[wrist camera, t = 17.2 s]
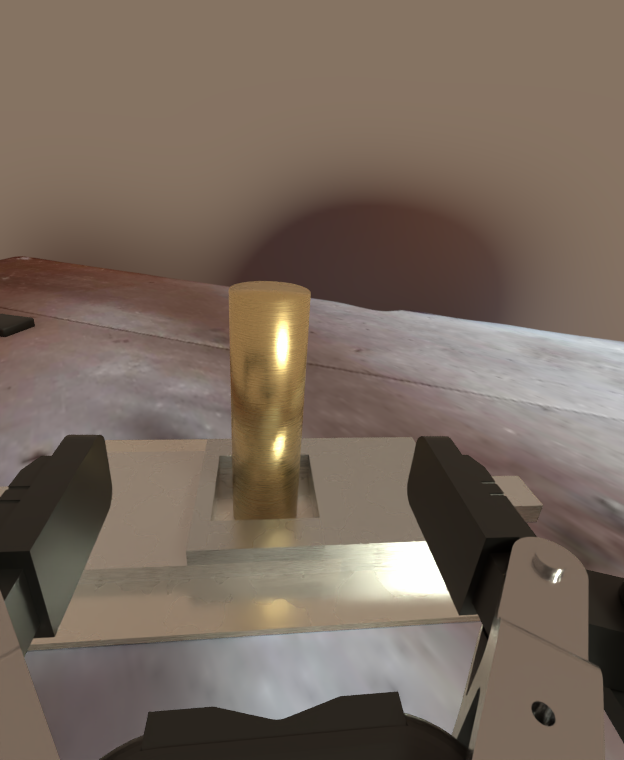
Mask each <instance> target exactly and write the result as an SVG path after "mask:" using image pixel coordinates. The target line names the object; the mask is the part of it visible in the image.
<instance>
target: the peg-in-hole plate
mask: <svg viewBox="0 0 624 760" xmlns="http://www.w3.org/2000/svg"><path fill="white" fill-rule="evenodd" d="M105 444H106V450H107V456H108V462H109V468H110V475H111V481H112V500H111V506H110V509H109V512H108V514H107V517H106V519H105V521H104V524H103V526H102V528H101V531H100V533H99V535H98V538H97V540H96V542H95V545H94V547H93V549H92V552H91V554H90V556H89V559H88V561H87V563H86V566H85V568H84V570H83V573H82V575H81V577H80V580H79V582H78V584H77V587H76V589H75V591H74V594H73V596H72V598H71V601H70V603H69V605H68V608H67V610H66V612H65V615H64V617H63V619H62V622H61V624H60V626H59V629H58V631H57V633H56V636H55V637H50V638H33V640H32V642H31V644H30V646H29V648H28V650H27V651H31V650H46V649H61V648H76V647H91V646H106V645H121V644H137V643H152V642H167V641H182V640H197V639H212V638H227V637H243V636H258V635H273V634H288V633H303V632H318V631H333V630H349V629H364V628H379V627H394V626H409V625H424V624H439V623H455V622H470V621H481V620H480V618H479V616H478V615H462V616H459V614H458V612H457V610H456V608H455V606H454V603H453V601H452V599H451V597H450V594H449V592H448V590H447V588H446V585H445V583H444V581H443V579H442V576H441V574H440V572H439V570H438V568H437V565H436V563H435V561H434V559H433V556H432V554H431V552H430V550H429V547H428V545H427V543H426V541H425V538H424V536H423V534H422V532H421V530H420V527H419V525H418V523H417V521H416V518H415V516H414V514H413V512H412V509H411V507H410V505H409V501H408V496H407V483H408V478H409V473H410V469H411V464H412V460H413V455H414V451H415V446H416V443H415V442H414V440H413V438H412V437H395V438H302V439H301V455H300V471H299V487H298V503H297V514H296V518H292V519H261V520H235V519H234V515H233V478H232V439H190V440H105ZM492 478H493V479H494V480H495V484H498V486H499V487H500V488H501V490H502V491H503V492H504V496H507V498H508V499H509V500H510V502H511V503H512V504H513V506H514V507H515V508H516V510H517V511H518V512H519V514H520V515H521V516H522V518H523V519H524V520H525V522H537V520H538V518H539V515H540V512H541V510H542V507H543V505H542V503H541V502H540V501H539V500H538V499H537V498H536V496H535V495H534V494H533V493H532V492H531V491H530V489H529V488H528V487H527V486H526V485H525V483H524V482H523V481H522V480H521V479H520V478H519V476H492ZM8 488H9V487H0V497H1V495H2V494H3V493H4V491H5V490H8Z"/></svg>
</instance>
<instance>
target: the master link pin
mask: <svg viewBox="0 0 624 760" xmlns="http://www.w3.org/2000/svg"><path fill="white" fill-rule="evenodd" d="M310 295H311V293H310V291H309V290H308V289H306V288H304V287H302V286H299V285H295V284H290V283H284V282H273V281H253V282H244V283H239V284H235V285H233V286H231V287H230V288H229V325H230V376H231V427H232V478H233V515H234V519H235V520H261V519H292V518H296V514H297V503H298V487H299V471H300V455H301V439H302V423H303V407H304V391H305V375H306V359H307V343H308V327H309V311H310Z"/></svg>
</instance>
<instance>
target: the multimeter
mask: <svg viewBox="0 0 624 760" xmlns="http://www.w3.org/2000/svg"><path fill="white" fill-rule="evenodd" d="M34 326H35V324H34V319H33V318H30V317H22V316H14V315H6V314H0V337H7V336H10V335H13V334H15V333H18V332H20V331H23V330H26V329H28V328H31V327H34Z"/></svg>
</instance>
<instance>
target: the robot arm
mask: <svg viewBox="0 0 624 760" xmlns="http://www.w3.org/2000/svg"><path fill="white" fill-rule="evenodd" d="M8 487H9V488H8V490H5V491H4V493H3V494H2V495H1V497H0V760H60V758H59V755H58V752H57V749H56V747H55V744H54V741H53V738H52V735H51V732H50V730H49V727H48V724H47V721H46V718H45V715H44V713H43V710H42V707H41V704H40V701H39V698H38V696H37V693H36V690H35V687H34V684H33V681H32V679H31V676H30V673H29V670H28V667H27V664H26V662H25V659H24V657H25V654H26V652H27V650H28V648H29V646H30V644H31V642H32V640H33V638H50V637H55V636H56V633H57V631H58V629H59V626H60V624H61V622H62V619H63V617H64V615H65V612H66V610H67V608H68V605H69V603H70V601H71V598H72V596H73V594H74V591H75V589H76V587H77V584H78V582H79V580H80V577H81V575H82V573H83V570H84V568H85V566H86V563H87V561H88V559H89V556H90V554H91V552H92V549H93V547H94V545H95V542H96V540H97V538H98V535H99V533H100V531H101V528H102V526H103V524H104V521H105V519H106V517H107V514H108V512H109V509H110V506H111V500H112V481H111V475H110V468H109V462H108V456H107V450H106V444H105V440H104V437H103V436H102V435H67V436H66V437H65V438H64V439H63V440H62V442H61V443H60V445H59V446H58V448H57V449H56V450H55V452H54V453H53V455H52V456H41V457H39V458H38V459H36V460H35V461H33V462H32V463H30V464H29V465H28V466H26V467H25V468H23V469H22V470H21V471H20V472H19V473H18V475H17V476H16V477H15V478H14V480H13V481H12V482H11V484H10V485H9V486H8ZM407 496H408V501H409V505H410V507H411V509H412V512H413V514H414V516H415V518H416V521H417V523H418V525H419V527H420V530H421V532H422V534H423V536H424V538H425V541H426V543H427V545H428V547H429V550H430V552H431V554H432V556H433V559H434V561H435V563H436V565H437V568H438V570H439V572H440V574H441V576H442V579H443V581H444V583H445V585H446V588H447V590H448V592H449V594H450V597H451V599H452V601H453V603H454V606H455V608H456V610H457V612H458V614H459V616H462V615H478V616H479V618H480V620H481V622H482V627H481V629H480V632H479V635H478V639H477V643H476V647H475V651H474V655H473V659H472V663H471V667H470V671H469V675H468V679H467V683H466V687H465V691H464V695H463V699H462V703H461V706H460V710H459V713H458V717H457V720H456V723H455V726H454V729H453V732H452V735H450V734H449V733H447V732H446V731H444V730H443V729H441V728H440V727H438V726H436V725H434V724H432V723H430V722H428V721H426V720H424V719H421V718H419V717H416V716H413V715H410V714H406V713H404V712H403V708H402V705H401V701H400V697H399V693H398V692H387V693H375V694H363V695H351V696H340V697H337V698H335V699H332V700H330V701H327V702H325V703H322V704H320V705H317V706H315V707H312V708H310V709H307V710H305V711H302V712H300V713H297V714H295V715H292V716H290V717H287V718H285V719H281V720H273V719H268V718H263V717H259V716H254V715H249V714H245V713H240V712H236V711H231V710H226V709H222V708H217V707H204V708H191V709H179V710H167V711H155V712H148V717H147V722H146V727H145V732H144V735H143V736H140V737H138V738H135V739H133V740H131V741H129V742H127V743H125V744H123V745H121V746H119V747H117V748H116V749H114V750H113V751H111V752H110V753H108V754H107V755H105V756H104V757H102V758H100V759H99V760H605V740H604V710H605V712H606V714H607V715H608V717H609V719H610V720H611V722H612V724H613V726H614V727H615V729H616V731H617V732H618V734H619V736H620V738H621V739H622V741H623V743H624V578H620V577H616V576H612V575H607V574H603V573H599V572H594V571H590V570H586V569H585V568H584V566H583V565H582V564H581V562H580V561H579V560H578V559H577V558H576V557H575V556H574V555H573V554H572V553H571V552H569V551H568V550H566V549H565V548H563V547H562V546H560V545H558V544H556V543H554V542H552V541H549V540H546V539H543V538H538V537H537V536H536V535H535V534H534V532H533V531H532V530H531V528H530V527H529V526H528V524H527V523H526V522H525V520H524V519H523V518H522V516H521V515H520V514H519V512H518V511H517V510H516V508H515V507H514V506H513V504H512V503H511V502H510V500H509V499H508V498H507V496H504V492H503V491H502V490H501V488H500V487H499V486H498V484H495V480H494V479H493V478H492V476H491V475H490V474H489V472H488V471H487V470H486V468H485V467H484V466H482V465H481V464H480V463H478V462H477V461H476V460H474V459H473V458H471V457H470V456H469V455H462V454H461V452H460V451H459V450H458V448H457V447H456V445H455V444H454V443H453V441H452V440H451V439H450V438H449V437H447V436H421V437H419V438H418V440H417V442H416V446H415V451H414V455H413V460H412V464H411V469H410V473H409V478H408V483H407Z"/></svg>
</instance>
